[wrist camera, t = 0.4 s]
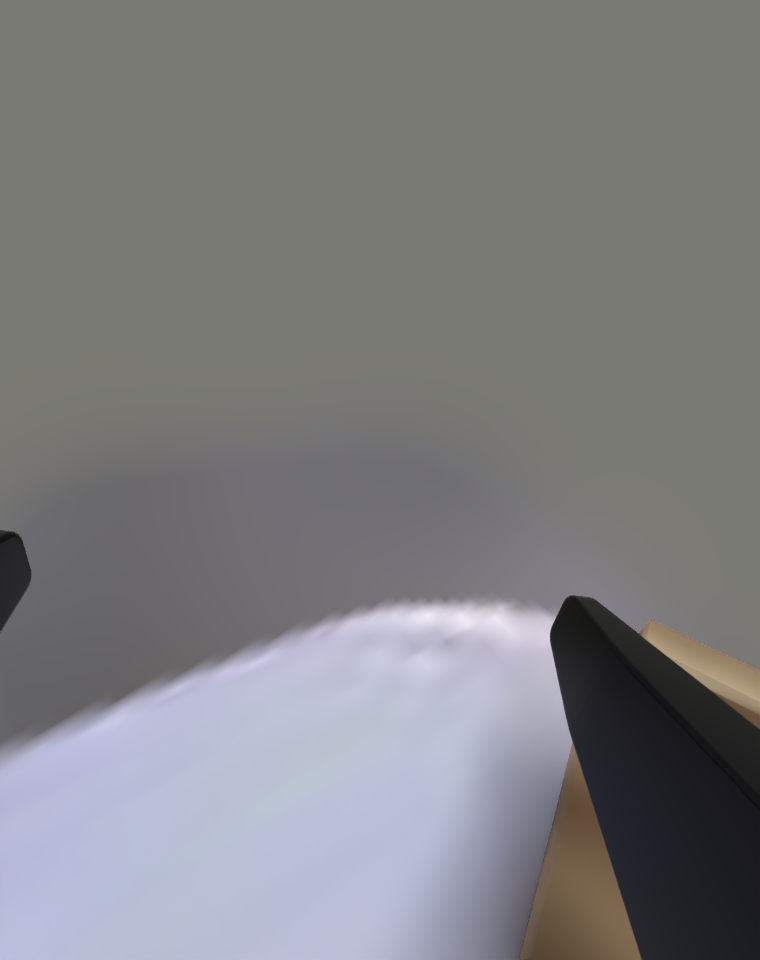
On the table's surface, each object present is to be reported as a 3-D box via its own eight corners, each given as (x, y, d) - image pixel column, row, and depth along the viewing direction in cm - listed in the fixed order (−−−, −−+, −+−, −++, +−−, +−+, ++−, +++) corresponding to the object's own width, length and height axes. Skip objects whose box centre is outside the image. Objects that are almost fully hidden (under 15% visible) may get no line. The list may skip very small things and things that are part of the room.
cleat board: (932, 1301, 11) (1350, 1453, 7) (518, 962, 15) (608, 916, 11) (845, 859, 19) (1018, 791, 14) (581, 709, 23) (650, 619, 18)
